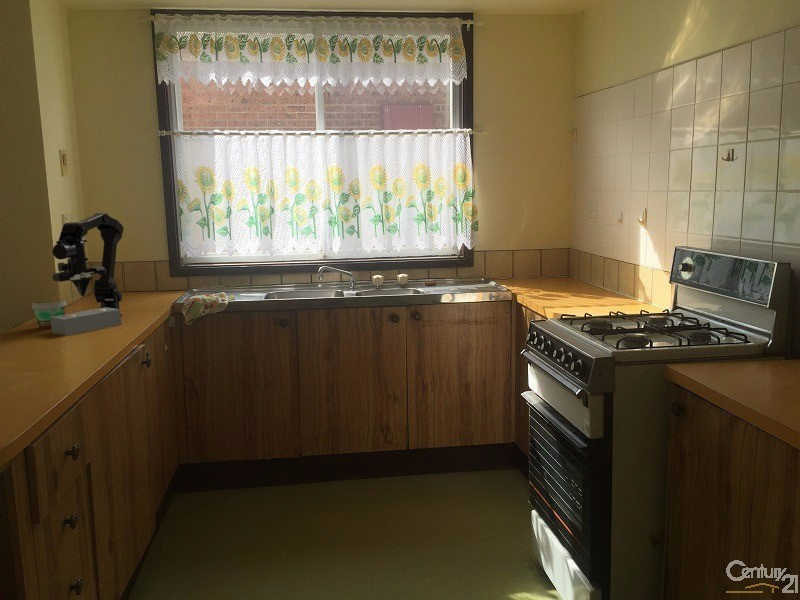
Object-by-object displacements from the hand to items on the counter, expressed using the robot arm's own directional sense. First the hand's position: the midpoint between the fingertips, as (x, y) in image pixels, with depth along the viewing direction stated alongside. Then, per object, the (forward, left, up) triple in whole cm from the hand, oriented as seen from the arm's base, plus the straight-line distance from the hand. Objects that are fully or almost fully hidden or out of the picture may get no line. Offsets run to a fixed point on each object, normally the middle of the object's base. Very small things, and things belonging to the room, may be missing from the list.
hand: (82, 295), depth 274 cm
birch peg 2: (-3, +7, -12) cm, 14 cm away
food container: (+10, -8, -12) cm, 17 cm away
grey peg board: (+3, +7, -12) cm, 14 cm away
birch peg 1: (+9, +7, -12) cm, 17 cm away
